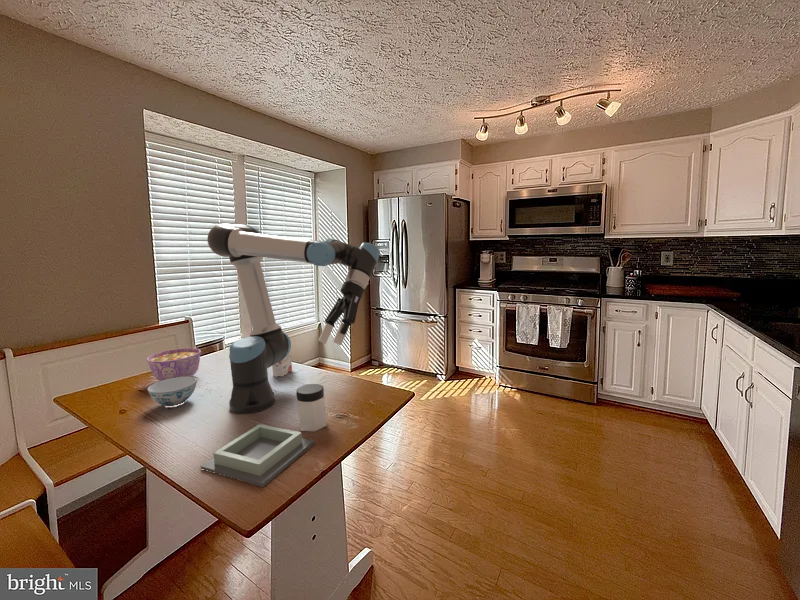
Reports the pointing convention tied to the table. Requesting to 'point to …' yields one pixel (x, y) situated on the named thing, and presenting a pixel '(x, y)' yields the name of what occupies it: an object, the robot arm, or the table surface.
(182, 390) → the chinaware
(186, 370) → the bowl of food
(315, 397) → the jar
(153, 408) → the table surface
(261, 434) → the green and grey tray
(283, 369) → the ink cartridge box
